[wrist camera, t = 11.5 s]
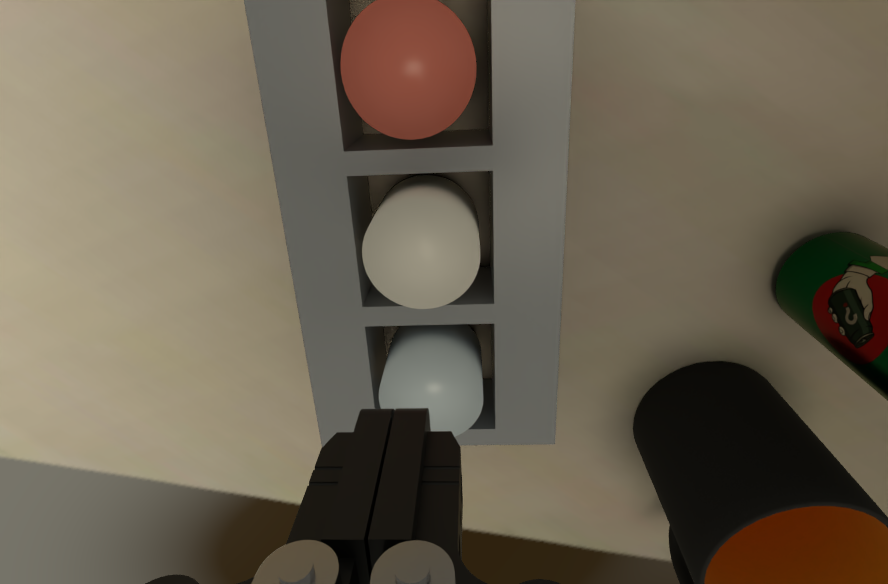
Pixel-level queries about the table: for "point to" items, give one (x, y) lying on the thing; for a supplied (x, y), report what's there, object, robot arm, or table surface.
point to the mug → (753, 486)
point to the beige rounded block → (423, 243)
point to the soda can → (842, 300)
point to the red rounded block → (408, 67)
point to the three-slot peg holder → (357, 155)
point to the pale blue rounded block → (435, 375)
